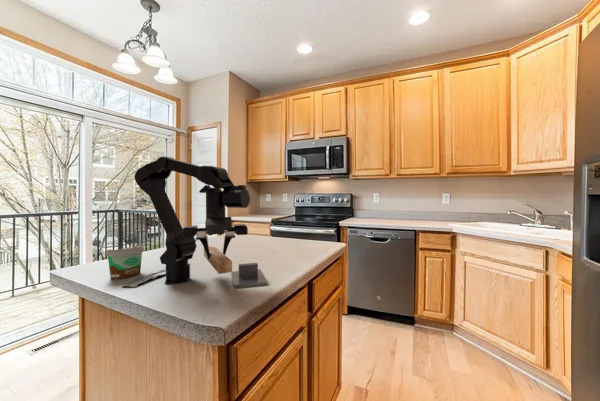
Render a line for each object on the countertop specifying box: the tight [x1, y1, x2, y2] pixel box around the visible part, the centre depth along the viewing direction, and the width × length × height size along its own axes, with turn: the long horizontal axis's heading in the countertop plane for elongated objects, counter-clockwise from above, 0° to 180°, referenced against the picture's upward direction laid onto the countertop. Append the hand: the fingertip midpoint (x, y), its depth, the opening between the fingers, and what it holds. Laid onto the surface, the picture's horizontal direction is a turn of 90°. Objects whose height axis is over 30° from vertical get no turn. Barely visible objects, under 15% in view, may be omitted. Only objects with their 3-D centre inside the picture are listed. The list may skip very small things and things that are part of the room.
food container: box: [105, 243, 145, 280], centre depth 89 cm, size 12×6×10 cm, turn 164°
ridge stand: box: [230, 262, 268, 289], centre depth 85 cm, size 10×14×5 cm
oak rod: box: [203, 245, 233, 275], centre depth 80 cm, size 4×24×3 cm, turn 29°
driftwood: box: [122, 268, 166, 288], centre depth 87 cm, size 21×7×2 cm, turn 163°
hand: (216, 258), depth 80 cm, fingers closed on oak rod, 4 cm apart
